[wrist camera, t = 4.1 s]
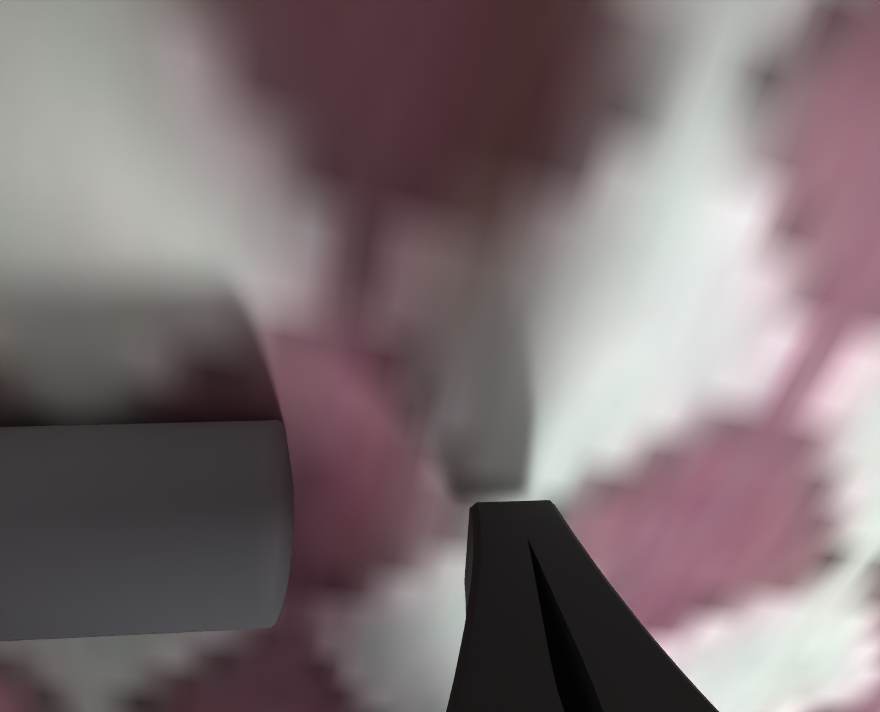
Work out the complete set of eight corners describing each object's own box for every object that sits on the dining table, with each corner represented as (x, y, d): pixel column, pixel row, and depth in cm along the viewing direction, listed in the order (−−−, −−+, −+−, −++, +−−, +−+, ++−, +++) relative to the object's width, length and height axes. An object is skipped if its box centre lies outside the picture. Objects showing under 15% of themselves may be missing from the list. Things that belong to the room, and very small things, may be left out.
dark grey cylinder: (295, 432, 11) (257, 405, 8) (291, 608, 10) (247, 650, 7) (-173, 444, 10) (-401, 421, 7) (-212, 632, 10) (-484, 688, 7)
